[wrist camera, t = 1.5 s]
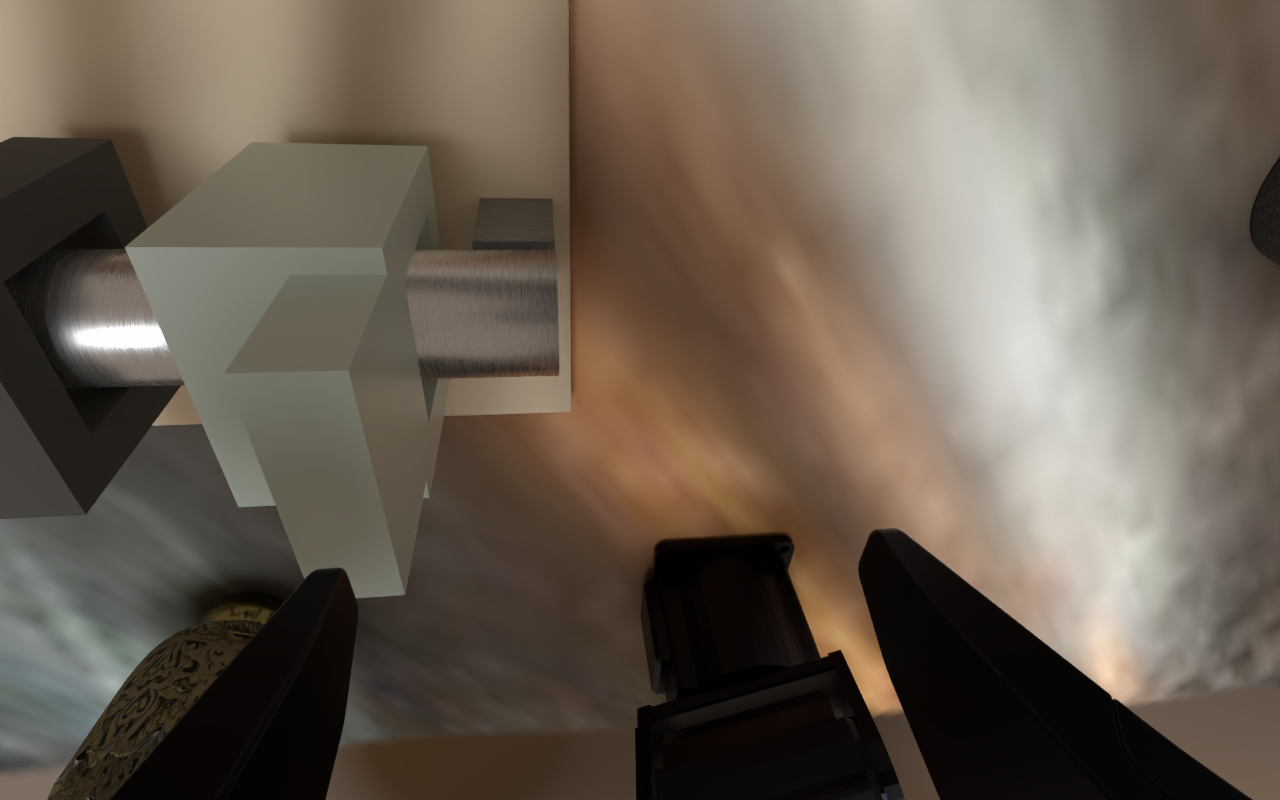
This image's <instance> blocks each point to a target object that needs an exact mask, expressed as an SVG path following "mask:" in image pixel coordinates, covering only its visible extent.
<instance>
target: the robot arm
mask: <svg viewBox="0 0 1280 800" xmlns="http://www.w3.org/2000/svg"><path fill="white" fill-rule="evenodd" d="M793 551H794V544H793V542H792V539H791V538H790V537H788V536H768V537H752V538H735V539H719V540H703V541H687V542H670V543H662V544H660V545H658V546H657V547H656V548H655V550H654V558H653V567H652V577H651V580H647V581H646V583H645V584H644V585H643V596H642V606H641V622H642V629H643V635H644V642H645V649H646V655H647V662H648V669H649V675H650V682H651V689H652V691H654V692H655V693H656V694H657V695H658V694H665V695H666V701H667V702H666V703H662V704H659V705H656V706H652V707H651V705H647V706H644V707H640V708H638V709H637V715H638V728H635V746H636V800H905V798H904V795H903V793H902V789H901V787H900V784H899V781H898V778H897V776H896V773H895V770H894V768H893V765H892V762H891V760H890V758H889V755H888V752H887V750H886V748H885V745H884V743H883V741H882V738H881V736H880V734H879V731H878V729H877V727H876V725H875V723H874V721H873V718H872V716H871V714H870V712H869V710H868V708H867V705H866V703H865V701H864V699H863V697H862V695H861V693H860V690H859V688H858V686H857V684H856V682H855V680H854V678H853V675H852V673H851V671H850V669H849V667H848V665H847V662H846V660H845V658H844V656H843V654H842V652H841V650H838V651H834V652H831V653H828V656H826V657H822V658H821V657H820V654H819V652H818V649H817V646H816V644H815V641H814V639H813V636H812V633H811V631H810V628H809V625H808V623H807V620H806V618H805V615H804V612H803V610H802V607H801V604H800V602H799V599H798V597H797V594H796V591H795V589H794V586H793V584H792V581H791V578H790V576H789V573H788V568H789V565H790V561H791V558H792V555H793ZM858 570H859V577H860V581H861V585H862V588H863V591H864V595H865V598H866V602H867V605H868V608H869V612H870V615H871V619H872V622H873V626H874V629H875V632H876V636H877V639H878V643H879V646H880V650H881V653H882V656H883V659H884V662H885V665H886V668H887V671H888V673H889V676H890V679H891V681H892V684H893V686H894V689H895V691H896V693H897V696H898V698H899V701H900V703H901V706H902V708H903V710H904V713H905V715H906V718H907V720H908V723H909V725H910V728H911V730H912V732H913V735H914V737H915V740H916V742H917V744H918V747H919V749H920V752H921V754H922V757H923V759H924V761H925V764H926V766H927V769H928V771H929V774H930V776H931V779H932V781H933V783H934V786H935V788H936V791H937V793H938V795H939V798H940V800H1252V799H1251V798H1249V797H1248V796H1246V795H1245V794H1244V793H1242V792H1240V791H1239V790H1238V789H1236V788H1235V787H1233V786H1232V785H1231V784H1229V783H1228V782H1226V781H1225V780H1224V779H1222V778H1221V777H1219V776H1218V775H1217V774H1215V773H1214V772H1212V771H1211V770H1209V769H1208V768H1207V767H1205V766H1204V765H1203V764H1201V763H1200V762H1198V761H1197V760H1195V759H1194V758H1193V757H1191V756H1190V755H1188V754H1187V753H1186V752H1184V751H1183V750H1181V749H1180V748H1179V747H1178V746H1176V745H1175V744H1173V743H1172V742H1171V741H1170V740H1168V739H1167V738H1166V737H1164V736H1163V735H1162V734H1161V733H1159V732H1158V731H1156V730H1155V729H1154V728H1153V727H1151V726H1150V725H1149V724H1147V723H1146V722H1145V721H1143V720H1142V719H1141V718H1140V717H1138V716H1137V715H1136V714H1134V713H1133V712H1132V711H1131V710H1129V709H1128V708H1127V707H1126V706H1124V705H1123V704H1122V703H1120V702H1119V701H1118V700H1116V699H1112V697H1111V695H1110V694H1109V693H1108V692H1106V691H1105V690H1104V689H1102V688H1101V687H1100V686H1099V685H1097V684H1096V683H1095V682H1094V681H1092V680H1091V679H1090V678H1088V677H1087V676H1086V675H1085V674H1083V673H1082V672H1081V671H1080V670H1078V669H1077V668H1076V667H1074V666H1073V665H1072V664H1071V663H1069V662H1068V661H1067V660H1066V659H1064V658H1063V657H1062V656H1060V655H1059V654H1058V653H1057V652H1055V651H1054V650H1053V649H1052V648H1050V647H1049V646H1048V645H1046V644H1045V643H1044V642H1043V641H1041V640H1040V639H1039V638H1038V637H1036V636H1035V635H1034V634H1032V633H1031V632H1030V631H1029V630H1027V629H1026V628H1025V627H1024V626H1022V625H1021V624H1020V623H1018V622H1017V621H1016V620H1015V619H1013V618H1012V617H1011V616H1010V615H1008V614H1007V613H1006V612H1004V611H1003V610H1002V609H1001V608H999V607H998V606H997V605H996V604H994V603H993V602H992V601H990V600H989V599H988V598H987V597H985V596H984V595H983V594H982V593H980V592H979V591H978V590H977V589H975V588H974V587H973V586H971V585H970V584H969V583H968V582H966V581H965V580H964V579H963V578H961V577H960V576H959V575H957V574H956V573H955V572H954V571H952V570H951V569H950V568H949V567H947V566H946V565H945V564H943V563H942V562H941V561H940V560H938V559H937V558H936V557H935V556H933V555H932V554H931V553H929V552H928V551H927V550H926V549H924V548H923V547H922V546H921V545H919V544H918V543H917V542H915V541H914V540H913V539H912V538H910V537H909V536H908V535H907V534H905V533H904V532H903V531H901V530H899V529H895V528H890V529H877V530H874V531H872V532H871V533H870V535H869V537H868V540H867V543H866V545H865V548H864V550H863V553H862V556H861V558H860V561H859V567H858ZM357 621H358V604H357V600H356V597H355V594H354V592H353V589H352V586H351V583H350V580H349V577H348V574H347V572H346V571H345V570H344V569H343V568H339V567H338V568H324V569H316V570H314V571H312V572H311V573H310V574H309V575H308V576H307V577H306V578H305V579H304V580H303V581H302V582H301V583H300V585H299V586H298V587H297V588H296V589H295V590H294V591H293V592H292V594H291V595H290V596H289V597H288V598H287V599H286V600H285V601H284V603H283V604H282V605H281V606H280V607H279V608H278V609H277V610H276V612H275V613H274V614H273V615H272V616H271V617H270V618H269V619H268V621H267V622H266V623H265V624H264V625H263V626H262V627H261V628H260V630H259V631H258V632H257V633H256V634H255V635H254V636H253V637H252V639H251V640H250V641H249V642H248V643H247V644H246V645H245V646H244V648H243V649H242V650H241V651H240V652H239V653H238V654H237V655H236V657H235V658H234V659H233V660H232V661H231V662H230V663H229V664H228V666H227V667H226V668H225V669H224V670H223V671H222V672H221V673H220V675H219V676H218V677H217V678H216V679H215V680H214V681H213V682H212V684H211V685H210V686H209V687H208V688H207V689H206V690H205V691H204V693H203V694H202V695H201V696H200V697H199V698H198V699H197V700H196V702H195V703H194V704H193V705H192V706H191V707H190V708H189V709H188V711H187V712H186V713H185V714H184V715H183V716H182V717H181V718H180V719H179V721H178V722H177V723H176V724H175V725H174V726H173V727H172V728H171V730H170V731H169V732H168V733H167V734H166V735H165V736H164V737H163V739H162V740H161V741H160V742H159V743H158V744H157V745H156V746H155V748H154V749H153V750H152V751H151V752H150V753H149V754H148V755H147V757H146V758H145V759H144V760H143V761H142V762H141V763H140V764H139V766H138V767H137V768H136V769H135V770H134V771H133V772H132V773H131V775H130V776H129V777H128V778H127V779H126V780H125V781H124V782H123V784H122V785H121V786H120V787H119V788H118V789H117V790H116V791H115V793H114V794H113V795H112V796H111V797H110V798H109V799H108V800H325V799H326V795H327V791H328V787H329V783H330V779H331V775H332V771H333V767H334V763H335V759H336V755H337V751H338V747H339V743H340V739H341V734H342V729H343V725H344V719H345V713H346V706H347V698H348V691H349V683H350V675H351V667H352V660H353V652H354V644H355V636H356V628H357Z"/></svg>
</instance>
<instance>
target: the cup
mask: <svg viewBox="0 0 1280 800" xmlns="http://www.w3.org/2000/svg"><path fill="white" fill-rule="evenodd" d="M281 605H282V603H280V602H278V601H276V600H274V599H271V598H268V597H265V596H260V595H250V594H244V595H235V596H231V597H228V598H225V599H223V600H221V601H219V602H218V603H216V604H215V605H214V606H212V607H211V608H210V609H209V610H208V611H207V612H206V613H205V614H204V615H203V617H202V619H201V621H200V624H198V625H195V626H192V627H189V628H187V629H185V630H182V631H180V632H178V633H176V634H174V635H173V636H171V637H169V638H168V639H166V640H165V641H163V642H162V643H160V644H159V645H158V646H157V647H156V648H155V649H153V650H152V651H151V652H150V653H149V654H148V655H147V656H146V657H145V658H144V659H143V660H142V661H141V663H140V664H139V665H138V666H137V667H136V668H135V670H134V671H133V672H132V673H131V675H130V676H129V677H128V678H127V680H126V681H125V682H124V684H123V685H122V687H121V688H120V689H119V691H118V692H117V693H116V695H115V696H114V698H113V699H112V701H111V702H110V704H109V705H108V706H107V708H106V709H105V711H104V712H103V714H102V715H101V717H100V718H99V719H98V721H97V722H96V724H95V725H94V727H93V728H92V730H91V731H90V733H89V734H88V736H87V737H86V739H85V740H84V742H83V743H82V744H81V746H80V747H79V749H78V750H77V752H76V753H75V755H74V756H73V758H72V759H71V761H70V762H69V764H68V765H67V767H66V768H65V770H64V771H63V773H62V774H61V775H60V777H59V778H58V779H57V781H56V782H55V784H54V786H53V788H52V790H51V792H50V794H49V797H48V800H85V799H86V798H89V800H108V799H109V798H110V797H111V796H112V795H113V794H114V793H115V791H116V790H117V789H118V788H119V787H120V786H121V785H122V784H123V782H124V781H125V780H126V779H127V778H128V777H129V776H130V775H131V773H132V772H133V771H134V770H135V769H136V768H137V767H138V766H139V764H140V763H141V762H142V761H143V760H144V759H145V758H146V757H147V755H148V754H149V753H150V752H151V751H152V750H153V749H154V748H155V746H156V745H157V744H158V743H159V742H160V741H161V740H162V739H163V737H164V736H165V735H166V734H167V733H168V732H169V731H170V730H171V728H172V727H173V726H174V725H175V724H176V723H177V722H178V721H179V719H180V718H181V717H182V716H183V715H184V714H185V713H186V712H187V711H188V709H189V708H190V707H191V706H192V705H193V704H194V703H195V702H196V700H197V699H198V698H199V697H200V696H201V695H202V694H203V693H204V691H205V690H206V689H207V688H208V687H209V686H210V685H211V684H212V682H213V681H214V680H215V679H216V678H217V677H218V676H219V675H220V673H221V672H222V671H223V670H224V669H225V668H226V667H227V666H228V664H229V663H230V662H231V661H232V660H233V659H234V658H235V657H236V655H237V654H238V653H239V652H240V651H241V650H242V649H243V648H244V646H245V645H246V644H247V643H248V642H249V641H250V640H251V639H252V637H253V636H254V635H255V634H256V633H257V632H258V631H259V630H260V628H261V627H262V626H263V625H264V624H265V623H266V622H267V621H268V619H269V618H270V617H271V616H272V615H273V614H274V613H275V612H276V610H277V609H278V608H279V607H280V606H281ZM86 800H87V799H86Z"/></svg>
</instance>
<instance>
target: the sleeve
mask: <svg viewBox="0 0 1280 800" xmlns="http://www.w3.org/2000/svg"><path fill="white" fill-rule="evenodd" d="M125 249H126V251H127V254H128V256H129V258H130V261H131V263H132V265H133V267H134V270H135V272H136V274H137V276H138V279H139V281H140V283H141V286H142V288H143V290H144V292H145V295H146V297H147V299H148V302H149V304H150V306H151V308H152V311H153V313H154V315H155V318H156V320H157V322H158V324H159V327H160V329H161V331H162V333H163V336H164V338H165V340H166V343H167V345H168V347H169V349H170V352H171V354H172V356H173V359H174V361H175V363H176V365H177V368H178V370H179V372H180V374H181V377H182V379H183V381H184V384H185V386H186V388H187V390H188V393H189V395H190V397H191V400H192V402H193V404H194V406H195V409H196V411H197V413H198V416H199V418H200V420H201V422H202V425H203V427H204V429H205V431H206V434H207V436H208V438H209V441H210V443H211V445H212V447H213V450H214V452H215V454H216V457H217V459H218V461H219V463H220V466H221V468H222V470H223V472H224V475H225V477H226V479H227V482H228V484H229V486H230V488H231V491H232V493H233V495H234V498H235V500H236V502H237V504H238V507H252V506H272V505H276V507H277V510H278V513H279V515H280V518H281V520H282V523H283V525H284V528H285V531H286V533H287V536H288V538H289V541H290V543H291V546H292V549H293V551H294V554H295V556H296V559H297V561H298V564H299V566H300V569H301V572H302V574H303V577H304V579H305V578H306V577H307V576H308V575H309V574H310V573H311V572H312V571H314V570H316V569H324V568H338V567H339V568H343V569H344V570H345V571H346V572H347V574H348V577H349V580H350V583H351V586H352V589H353V592H354V594H355V597H356V598H367V597H381V596H396V595H405V591H406V586H407V581H408V575H409V570H410V565H411V559H412V554H413V549H414V544H415V538H416V533H417V528H418V522H419V517H420V512H421V506H422V501H423V498H429V496H430V491H431V485H432V479H433V474H434V468H435V463H436V457H437V451H438V446H439V440H440V435H441V429H442V423H443V418H444V412H445V407H446V401H447V395H448V390H449V384H450V379H421V374H420V369H419V363H418V357H417V351H416V346H415V340H414V334H413V328H412V322H411V317H410V311H409V305H408V299H407V293H406V288H405V282H404V279H405V276H406V273H407V270H408V268H409V265H410V262H411V259H412V256H413V253H414V250H441V244H440V237H439V229H438V221H437V214H436V206H435V199H434V191H433V183H432V176H431V168H430V161H429V153H428V146H401V145H356V144H311V143H267V142H251V143H250V144H249V145H248V146H246V147H245V148H244V149H243V150H242V151H240V152H239V153H238V154H237V155H236V156H234V157H233V158H232V159H231V160H229V161H228V162H227V163H226V164H225V165H223V166H222V167H221V168H220V169H219V170H217V171H216V172H215V173H214V174H213V175H211V176H210V177H209V178H208V179H206V180H205V181H204V182H203V183H202V184H200V185H199V186H198V187H197V188H196V189H194V190H193V191H192V192H191V193H190V194H188V195H187V196H186V197H185V198H184V199H182V200H181V201H180V202H179V203H177V204H176V205H175V206H174V207H173V208H171V209H170V210H169V211H168V212H167V213H165V214H164V215H163V216H162V217H161V218H159V219H158V220H157V221H156V222H155V223H153V224H152V225H151V226H150V227H148V228H147V229H146V230H145V231H144V232H142V233H141V234H140V235H139V236H138V237H136V238H135V239H134V240H133V241H132V242H130V243H129V244H128V245H127V246H126V247H125Z"/></svg>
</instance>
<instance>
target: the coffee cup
mask: <svg viewBox="0 0 1280 800" xmlns="http://www.w3.org/2000/svg"><path fill="white" fill-rule="evenodd" d="M1251 233H1252V238H1253V241H1254V244H1255V246H1256V247H1257V249H1258V250H1259V251H1260V252H1261V253H1262V254H1263V255H1264V256H1266V257H1267V258H1269V259H1271V260H1272V261H1274V262H1275V263H1277V264H1279V265H1280V160H1279V161H1278V163H1277V164H1276V165H1275V167H1274V168H1273V170H1272V171H1271V173H1270V174H1269V176H1268V178H1267V179H1266V181H1265V183H1264V185H1263V187H1262V189H1261V191H1260V193H1259V195H1258V198H1257V200H1256V203H1255V206H1254V210H1253V214H1252V220H1251Z"/></svg>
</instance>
